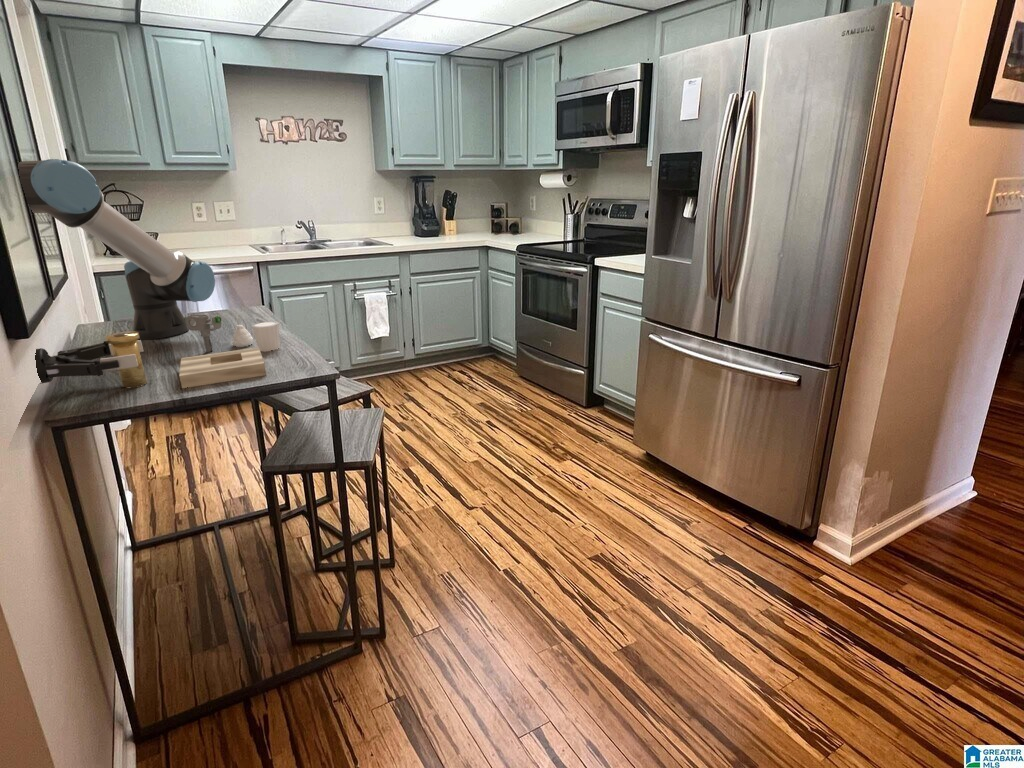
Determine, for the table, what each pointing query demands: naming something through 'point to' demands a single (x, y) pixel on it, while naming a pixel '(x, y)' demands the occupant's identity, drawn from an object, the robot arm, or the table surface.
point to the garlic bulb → (241, 337)
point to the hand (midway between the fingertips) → (139, 352)
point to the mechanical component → (203, 327)
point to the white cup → (267, 335)
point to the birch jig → (221, 367)
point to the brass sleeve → (127, 346)
